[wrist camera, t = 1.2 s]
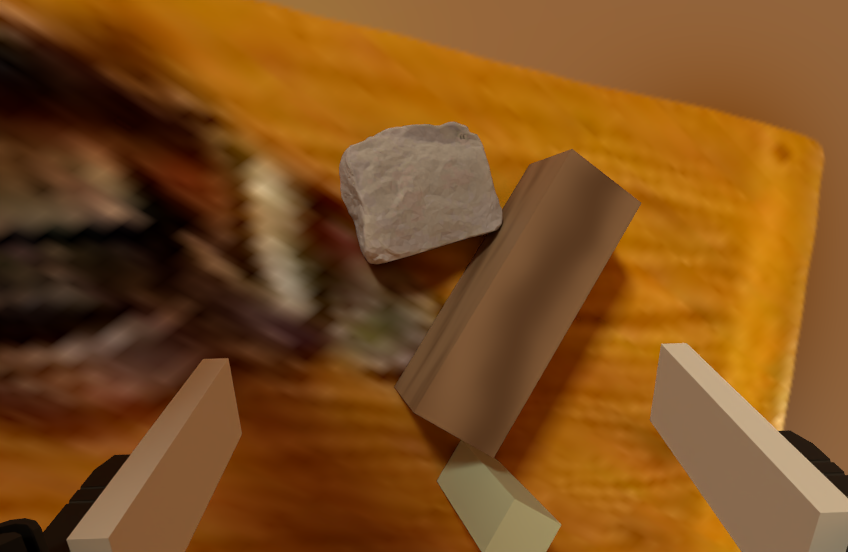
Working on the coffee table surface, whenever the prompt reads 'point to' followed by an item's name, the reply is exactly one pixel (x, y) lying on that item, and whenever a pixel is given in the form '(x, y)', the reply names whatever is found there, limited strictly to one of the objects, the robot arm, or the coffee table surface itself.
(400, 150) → the stone block
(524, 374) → the walnut beam
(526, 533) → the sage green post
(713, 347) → the coffee table surface
